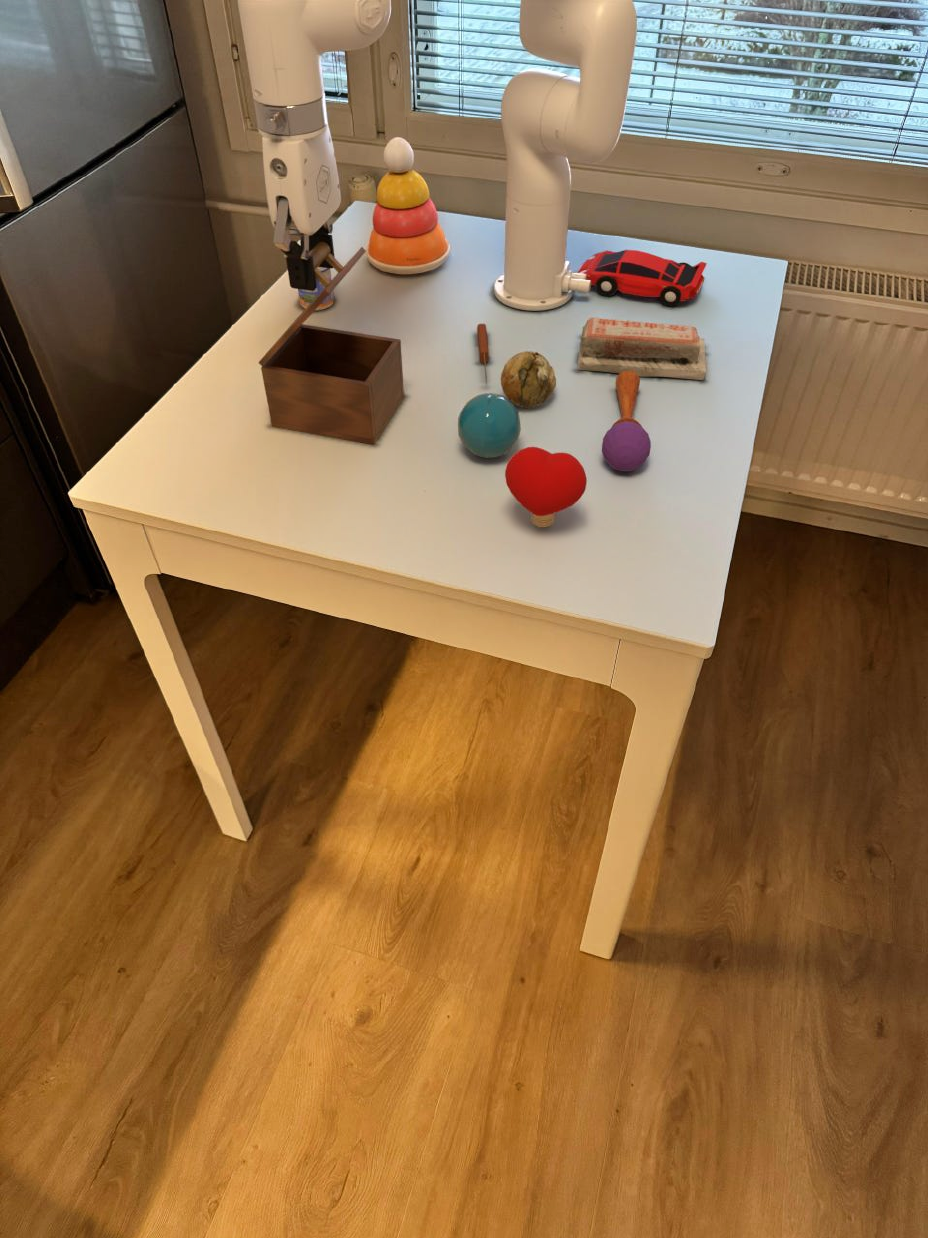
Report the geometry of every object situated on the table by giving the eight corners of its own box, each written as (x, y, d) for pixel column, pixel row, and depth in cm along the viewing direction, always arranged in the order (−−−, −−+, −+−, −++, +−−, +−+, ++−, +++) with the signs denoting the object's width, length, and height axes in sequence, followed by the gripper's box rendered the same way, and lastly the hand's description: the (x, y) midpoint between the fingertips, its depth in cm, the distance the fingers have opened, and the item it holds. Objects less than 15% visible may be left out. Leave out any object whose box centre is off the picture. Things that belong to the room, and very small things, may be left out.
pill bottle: (292, 305, 144) (283, 245, 137) (314, 291, 147) (306, 231, 140) (320, 314, 142) (312, 253, 135) (341, 300, 145) (334, 239, 138)
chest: (404, 397, 126) (400, 339, 120) (374, 444, 119) (368, 385, 112) (307, 380, 129) (298, 323, 123) (271, 426, 122) (260, 367, 115)
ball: (523, 436, 120) (526, 383, 114) (515, 474, 114) (517, 419, 108) (463, 431, 120) (462, 377, 115) (452, 467, 115) (451, 413, 109)
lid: (366, 250, 112) (337, 221, 111) (329, 294, 105) (298, 262, 103) (300, 322, 123) (273, 296, 121) (262, 366, 115) (232, 339, 113)
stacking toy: (448, 241, 160) (446, 120, 146) (452, 279, 150) (450, 153, 136) (367, 243, 159) (357, 122, 145) (365, 281, 149) (354, 156, 135)
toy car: (584, 265, 153) (587, 235, 149) (704, 282, 149) (710, 251, 145) (569, 293, 146) (572, 263, 143) (695, 312, 142) (701, 281, 138)
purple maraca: (655, 367, 123) (657, 444, 109) (641, 405, 128) (641, 485, 113) (613, 356, 123) (609, 432, 109) (600, 395, 127) (595, 473, 113)
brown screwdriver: (477, 333, 138) (477, 320, 136) (486, 332, 138) (486, 320, 137) (481, 390, 127) (481, 378, 126) (491, 390, 127) (491, 377, 126)
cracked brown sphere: (566, 392, 127) (570, 340, 121) (541, 422, 122) (545, 369, 116) (516, 379, 129) (519, 327, 123) (491, 407, 124) (492, 354, 118)
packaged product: (579, 341, 127) (584, 306, 133) (576, 372, 130) (581, 336, 137) (711, 351, 125) (709, 315, 131) (705, 382, 128) (703, 346, 135)
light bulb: (587, 515, 109) (596, 445, 101) (573, 552, 104) (580, 482, 97) (512, 499, 111) (515, 430, 103) (495, 535, 106) (497, 465, 99)
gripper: (291, 146, 91) (314, 315, 104) (353, 91, 102) (367, 250, 115) (222, 138, 92) (254, 306, 106) (291, 85, 104) (312, 243, 117)
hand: (313, 275), depth 110 cm, fingers closed on lid, 5 cm apart
